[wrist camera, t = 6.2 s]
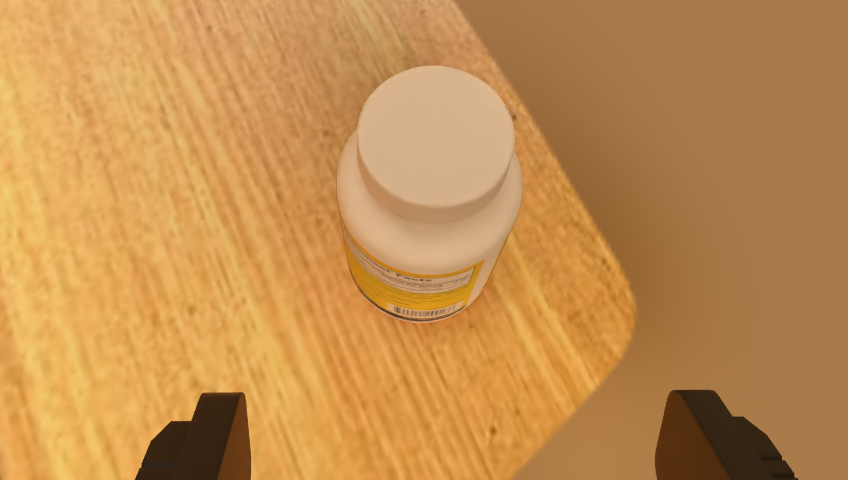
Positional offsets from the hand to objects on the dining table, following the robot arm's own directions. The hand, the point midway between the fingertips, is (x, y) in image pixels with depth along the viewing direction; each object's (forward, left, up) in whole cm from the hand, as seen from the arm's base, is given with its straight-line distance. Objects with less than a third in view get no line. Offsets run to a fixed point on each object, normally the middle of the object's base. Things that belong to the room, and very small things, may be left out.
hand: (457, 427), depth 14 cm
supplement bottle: (0, -7, -12) cm, 14 cm away
